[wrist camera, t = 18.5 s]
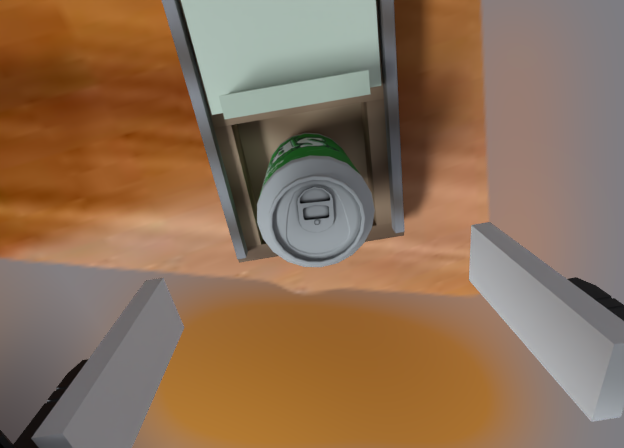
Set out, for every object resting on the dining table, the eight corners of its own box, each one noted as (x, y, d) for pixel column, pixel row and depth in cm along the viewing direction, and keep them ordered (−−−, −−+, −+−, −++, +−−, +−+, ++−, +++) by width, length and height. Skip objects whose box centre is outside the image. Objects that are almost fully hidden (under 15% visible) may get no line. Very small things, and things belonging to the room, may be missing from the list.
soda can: (346, 126, 29) (378, 155, 18) (350, 205, 32) (379, 269, 21) (262, 135, 29) (244, 168, 18) (274, 212, 32) (264, 282, 21)
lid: (164, -73, 21) (138, -104, 17) (365, -110, 21) (379, -148, 17) (215, 117, 26) (202, 123, 22) (379, 88, 25) (392, 90, 22)
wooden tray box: (169, -17, 25) (147, -34, 21) (379, -55, 24) (394, -79, 21) (243, 247, 34) (237, 269, 30) (395, 222, 34) (408, 240, 30)
